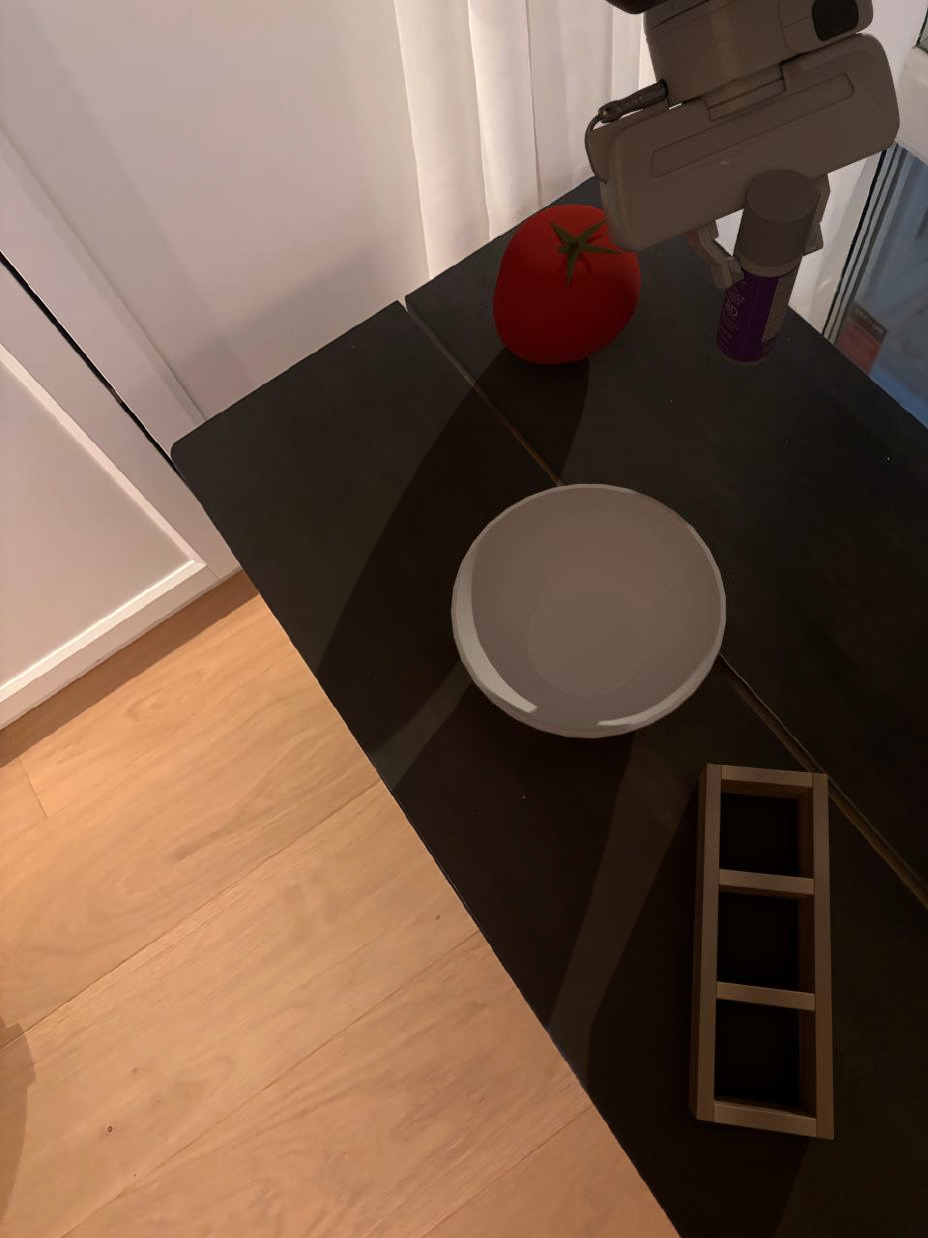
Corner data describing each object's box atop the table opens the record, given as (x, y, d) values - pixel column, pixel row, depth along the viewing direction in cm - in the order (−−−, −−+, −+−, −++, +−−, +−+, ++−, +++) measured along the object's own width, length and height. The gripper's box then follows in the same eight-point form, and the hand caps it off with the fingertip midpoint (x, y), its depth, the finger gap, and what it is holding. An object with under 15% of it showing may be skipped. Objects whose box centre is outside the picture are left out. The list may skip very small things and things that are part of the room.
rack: (811, 787, 66) (827, 774, 62) (815, 1126, 59) (834, 1140, 54) (698, 777, 68) (706, 763, 63) (688, 1107, 60) (696, 1119, 55)
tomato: (465, 332, 84) (448, 241, 74) (578, 248, 86) (577, 148, 76) (552, 415, 80) (546, 331, 69) (669, 325, 82) (681, 230, 71)
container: (703, 346, 73) (730, 201, 59) (739, 307, 74) (774, 156, 60) (751, 376, 72) (790, 235, 58) (788, 336, 72) (835, 188, 58)
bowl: (428, 590, 76) (410, 548, 68) (640, 495, 76) (646, 442, 69) (525, 804, 68) (517, 784, 61) (759, 698, 69) (780, 665, 61)
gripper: (590, 107, 56) (651, 327, 61) (895, -18, 56) (928, 212, 62) (562, 122, 62) (620, 322, 67) (839, 8, 62) (874, 216, 67)
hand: (770, 268), depth 64 cm, fingers closed on container, 5 cm apart
